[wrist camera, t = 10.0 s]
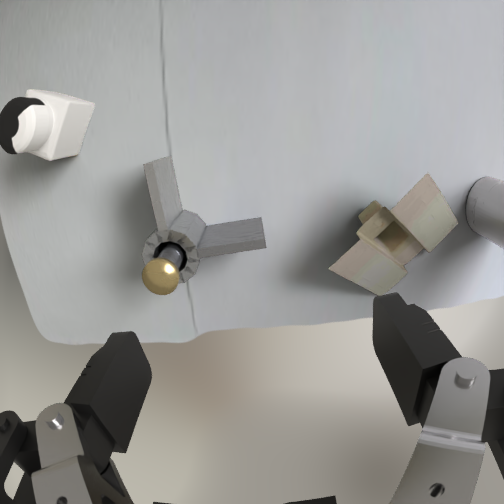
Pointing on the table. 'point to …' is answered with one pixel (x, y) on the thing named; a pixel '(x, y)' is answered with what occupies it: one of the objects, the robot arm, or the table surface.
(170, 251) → the pin
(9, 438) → the robot arm
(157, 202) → the hinge
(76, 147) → the medicine bottle
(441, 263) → the table surface
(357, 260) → the beige folded piece
